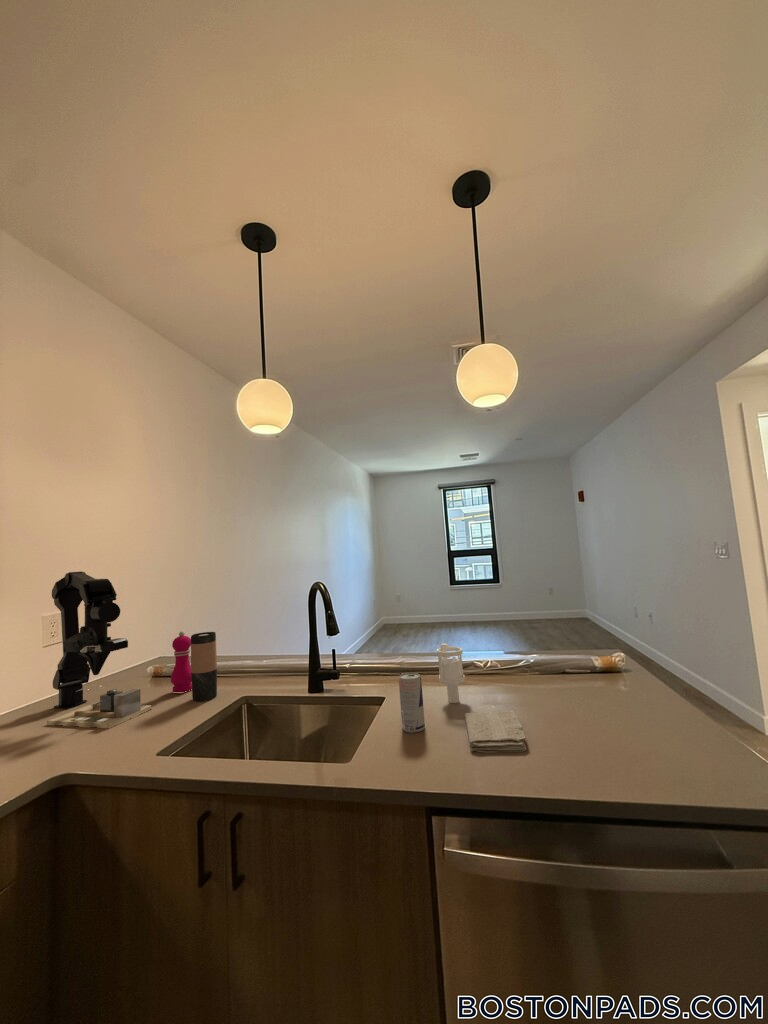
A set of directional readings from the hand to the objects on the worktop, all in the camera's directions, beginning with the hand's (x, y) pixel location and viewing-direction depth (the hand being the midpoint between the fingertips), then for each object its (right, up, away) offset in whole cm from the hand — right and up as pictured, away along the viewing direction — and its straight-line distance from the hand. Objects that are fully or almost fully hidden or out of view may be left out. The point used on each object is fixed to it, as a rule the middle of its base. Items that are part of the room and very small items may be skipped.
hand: (96, 674), depth 125 cm
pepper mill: (+17, -13, +19) cm, 28 cm away
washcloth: (+110, -1, -32) cm, 115 cm away
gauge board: (+3, -12, -2) cm, 12 cm away
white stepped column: (+105, -4, -10) cm, 105 cm away
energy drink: (+93, -3, -26) cm, 96 cm away
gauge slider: (+6, -9, -5) cm, 12 cm away
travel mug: (+28, -11, +9) cm, 32 cm away
